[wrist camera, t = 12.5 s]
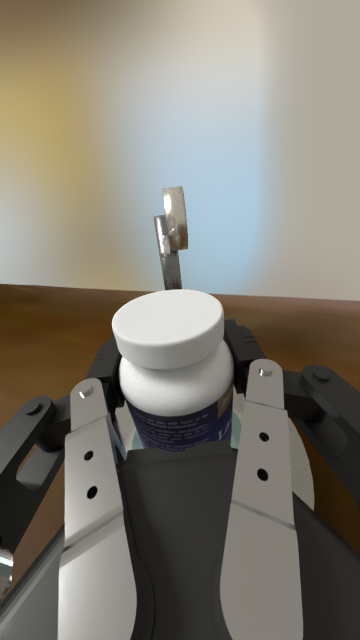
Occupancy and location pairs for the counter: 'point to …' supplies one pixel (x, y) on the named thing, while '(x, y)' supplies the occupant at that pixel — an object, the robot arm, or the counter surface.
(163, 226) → the dial stand
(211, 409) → the pill bottle
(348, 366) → the counter surface
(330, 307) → the counter surface
